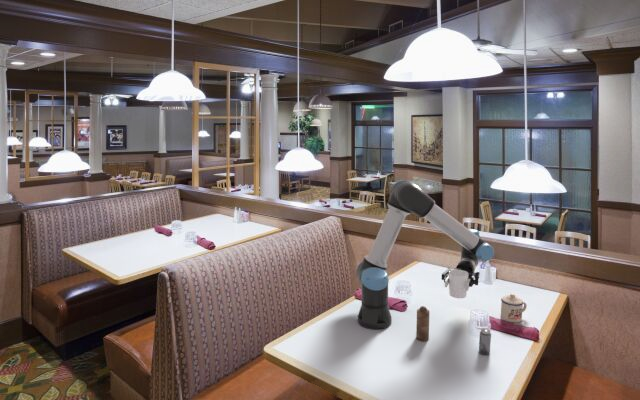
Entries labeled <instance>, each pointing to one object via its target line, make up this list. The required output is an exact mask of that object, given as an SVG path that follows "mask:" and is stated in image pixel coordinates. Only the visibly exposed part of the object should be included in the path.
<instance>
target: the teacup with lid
mask: <svg viewBox="0 0 640 400" xmlns="http://www.w3.org/2000/svg"><path fill="white" fill-rule="evenodd" d="M500 307H501V308H500V318H501V319H502V320H503V321H505V320H506V321H505V322H507V321H510V322H509V323H512V322H514V324H517V323H520V322H522V318H523V313H524V312H525V311H526V310H527V307H528V306H527V303H525V301H524V300H523V299H522V298H520V297H518V296H516V294H515V293H510V294H509V295H504V296H502V297H501V305H500Z"/></svg>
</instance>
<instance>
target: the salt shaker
mask: <svg viewBox="0 0 640 400" xmlns="http://www.w3.org/2000/svg"><path fill="white" fill-rule="evenodd" d="M491 339H492V333H491V330H490V329H488V328H481V329H480V331H479V341H478V342H479V343H478V353H479V354H480V355H483V356H489V355H490V354H491V353H490V352H491V341H492V340H491Z"/></svg>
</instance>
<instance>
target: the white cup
mask: <svg viewBox="0 0 640 400" xmlns="http://www.w3.org/2000/svg"><path fill="white" fill-rule="evenodd" d="M468 276H469V273H468V272H466V271H464V270H454V269H452V270H450V271H449V284H448V289H449V291H448V292H449V296H450V297H452V298H455V299H465V298H466V297H467V292H468V291H466V283H467V281H468Z"/></svg>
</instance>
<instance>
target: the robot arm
mask: <svg viewBox="0 0 640 400" xmlns="http://www.w3.org/2000/svg"><path fill="white" fill-rule="evenodd" d="M389 193H390V197H389V199H388V201H387V204H386V205H387V207H388V209H387V212H386V213H385V217H384V218H383V221H382V224H381V226H380V228H379V231H378V233H377V235H376V238H375V239H374V242H373V245H372V246H371V249H370V252H369V254H366V255H364V256H363V260H362V261H361V262H360V263H359V264H358V265H357V267H356V278H357V281H358V282H359V286H360V289H361V305H360V308H359V311H358V314H357V324H359V325H360V326H361V327H363V328H365V329H370V330H381V329H382V330H383V329H387V328H388V327H390V326H391V325H392V319H393V317H392V314H391V311H390V308H389V305H388V304H389V303H388V302H389V282H390V281H389V274H388V272H387V269H388V264H387V260H388V258H389V256H390V254H391V251H392V250H393V248H394V247H393V246H394V244H395V242H396V240H397V239H398V238H397V237H398V235H399V234H400V230H401V229H402V226H403V224H404V221H405V220H406V217H407V216H408V215H411V213H412V214H414V215H416V216H417V217H418V218H420V219H424V220H426V221H428V222H429V223H430V224H431V225H433V226H434V227H436V228H437V229H438V230H440V231H441V232H443V233H444V235H447V236H448V237H450V238H451V239H452V240H453V241H455V242H457V243H458V244H459V245H460V246H461V253H460V260H459V262H458V263H457V265H456V267H455V268H450V267H447V269H446V270H445V271H443V272H442V273H441V280H442V281H443V283H444V288H447V287H449V271H450V270H464V271H466V272H468V273H469V276H468V281H467V283H466V291H467V292H468V291H469V288H470V287H471V288H472V287H473V286H474V285H475V286H479V278H480V274H481V273H480V272H478V271H476V272H475V270H476V268H477V267H478V265H479V262H480V261H482V262H488V261H490V260H492V259H493V257H494V255H495V249H494V247H493V246H492V245H490V243H488V242H486V241H485V240H484V239H482V238H480V231H479V230H477V229H473V228H468V227H466V226H465V225H464V224H462V223H461V222H460V221H459V220H457V219H456V218H454V217H453V216H451V214H449V213H448V212H447V211H445V210H444V209H443V208H441V207H440V206H438V205H437V204H436V201H435V200H434V199H433V198H432V197H431V196H430V195H428V193H426V192H425V191H424V190H423V189H422V188H421V186H419V185H417V184H415V183H414V182H413V181H411V180H408V179H401V180H397V181H396V182H395V183H393V184H392V186H391V188H390V191H389Z"/></svg>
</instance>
